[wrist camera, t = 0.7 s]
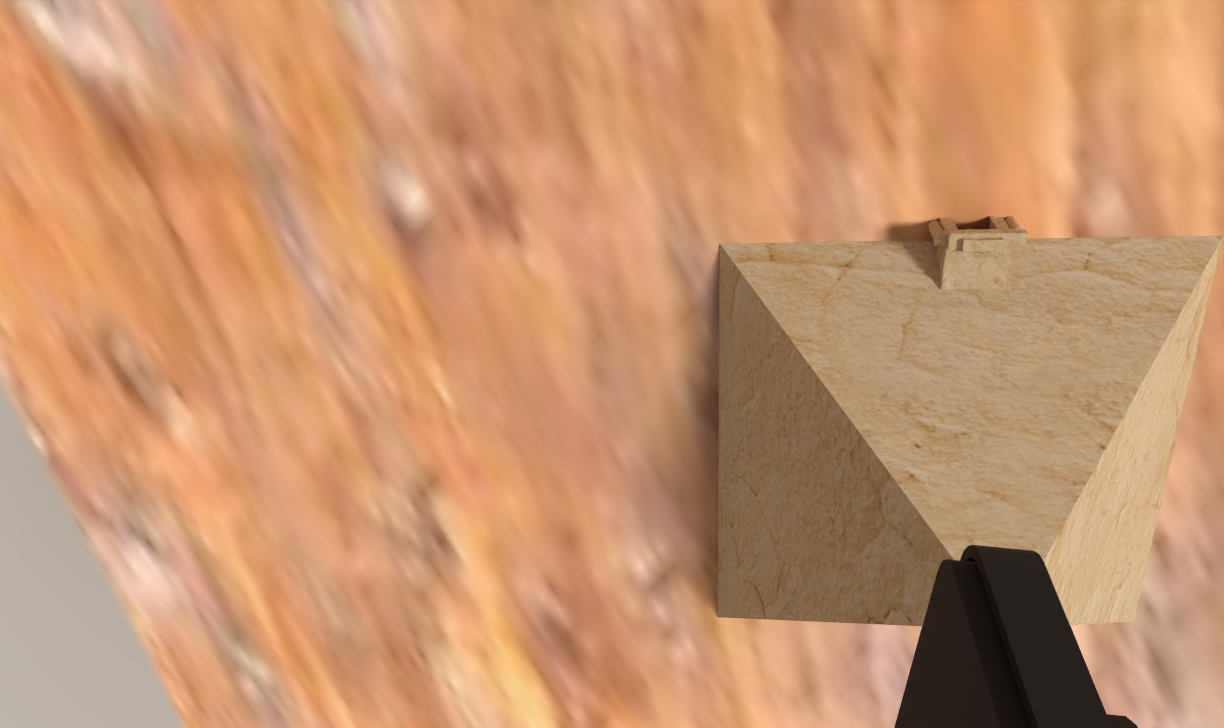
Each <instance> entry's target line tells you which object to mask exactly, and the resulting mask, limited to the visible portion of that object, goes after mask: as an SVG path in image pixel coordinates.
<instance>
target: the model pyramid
mask: <svg viewBox="0 0 1224 728" xmlns="http://www.w3.org/2000/svg"><path fill="white" fill-rule="evenodd" d="M928 229H929V231H930V233H931V236H932V240H920V241H858V242H795V243H732V244H720V283H719V464H718V617H727V618H750V619H772V620H795V621H818V622H840V623H863V624H886V625H908V626H923V622H924V619H925V615H926V611H927V608H928V604H929V600H930V597H931V593H932V589H933V586H934V582H935V578H936V575H937V572H938V569H939V566H940V564H941V563H942V561H943V560H945V559H950V560H960V559H961V556H962V554H963V552H964V550H965V549H966V548H967V546H970V545H980V546H990V547H1000V548H1011V549H1021V550H1031V551H1035V552H1037V553H1039V554H1040V556H1041V558H1042V559H1043V561H1044V563H1045V566H1046V568H1047V570H1048V573H1049V575H1050V578H1051V580H1052V583H1053V585H1054V588H1055V590H1056V592H1057V595H1058V597H1059V600H1060V602H1061V605H1062V607H1063V609H1064V612H1065V614H1066V617H1067V619H1068V622H1069V624H1070V625H1082V624H1097V623H1111V622H1125V621H1134V617H1135V613H1136V609H1137V604H1138V600H1139V596H1140V592H1141V587H1142V583H1143V579H1144V574H1145V570H1146V566H1147V562H1148V557H1149V553H1150V549H1151V544H1152V540H1153V536H1154V531H1155V527H1156V523H1157V519H1158V514H1159V510H1160V506H1161V501H1162V497H1163V493H1164V489H1165V484H1166V480H1167V476H1168V471H1169V467H1170V463H1171V459H1172V454H1173V450H1174V446H1175V441H1176V437H1177V433H1178V428H1179V424H1180V420H1181V416H1182V411H1183V407H1184V403H1185V398H1186V394H1187V390H1188V386H1189V381H1190V377H1191V373H1192V368H1193V364H1194V360H1195V355H1196V351H1197V347H1198V343H1199V338H1200V334H1201V330H1202V325H1203V321H1204V317H1205V313H1206V308H1207V304H1208V300H1209V295H1210V291H1211V287H1212V282H1213V278H1214V274H1215V270H1216V265H1217V261H1218V257H1219V252H1220V248H1221V244H1222V240H1223V236H1172V237H1109V238H1046V239H1027V238H1028V232H1027V231H1026V230H1024V229H1022V228H1021V227H1020V225H1019V224H1018V222H1017V221H1016V219H1015V218H1014V217H1011V216H1010V217H1007V218H1006V219H1005V220H1004V218H1003V217H994V216H990V222H989V229H965V230H962V229H961V230H958V229H957V226H956V225H955V222H954V221H953V218H939V222H938V221H937V220H933V221H931V222H930V223H929V224H928Z"/></svg>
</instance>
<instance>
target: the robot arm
mask: <svg viewBox="0 0 1224 728" xmlns="http://www.w3.org/2000/svg"><path fill="white" fill-rule="evenodd" d="M895 728H1138V727H1137V726H1136V724H1134V723H1133V722H1132V721H1131V720H1130V719H1128V718H1127V717H1126V716H1117V715H1107V714H1106V712H1105V709H1104V707H1103V705H1102V702H1101V700H1100V697H1099V695H1098V692H1097V690H1096V688H1095V685H1094V683H1093V680H1092V678H1091V675H1090V673H1089V670H1088V668H1087V666H1086V663H1085V661H1084V658H1083V656H1082V653H1081V651H1080V649H1079V646H1078V644H1077V641H1076V639H1075V636H1074V634H1073V631H1072V629H1071V627H1070V624H1069V622H1068V619H1067V617H1066V614H1065V612H1064V609H1063V607H1062V605H1061V602H1060V600H1059V597H1058V595H1057V592H1056V590H1055V588H1054V585H1053V583H1052V580H1051V578H1050V575H1049V573H1048V570H1047V568H1046V566H1045V563H1044V561H1043V559H1042V558H1041V556H1040V554H1039V553H1037V552H1035V551H1031V550H1021V549H1011V548H1000V547H990V546H980V545H970V546H967V548H966V549H965V550H964V552H963V554H962V556H961V559H960V560H950V559H945V560H943V561H942V563H941V564H940V566H939V569H938V572H937V575H936V578H935V582H934V586H933V589H932V593H931V597H930V600H929V604H928V608H927V611H926V615H925V619H924V622H923V626H922V629H921V633H920V637H919V640H918V644H917V648H916V651H915V655H914V659H913V662H912V666H911V669H910V673H909V677H908V680H907V684H906V688H905V691H904V695H903V699H902V702H901V706H900V709H899V713H898V717H897V720H896V724H895Z"/></svg>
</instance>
